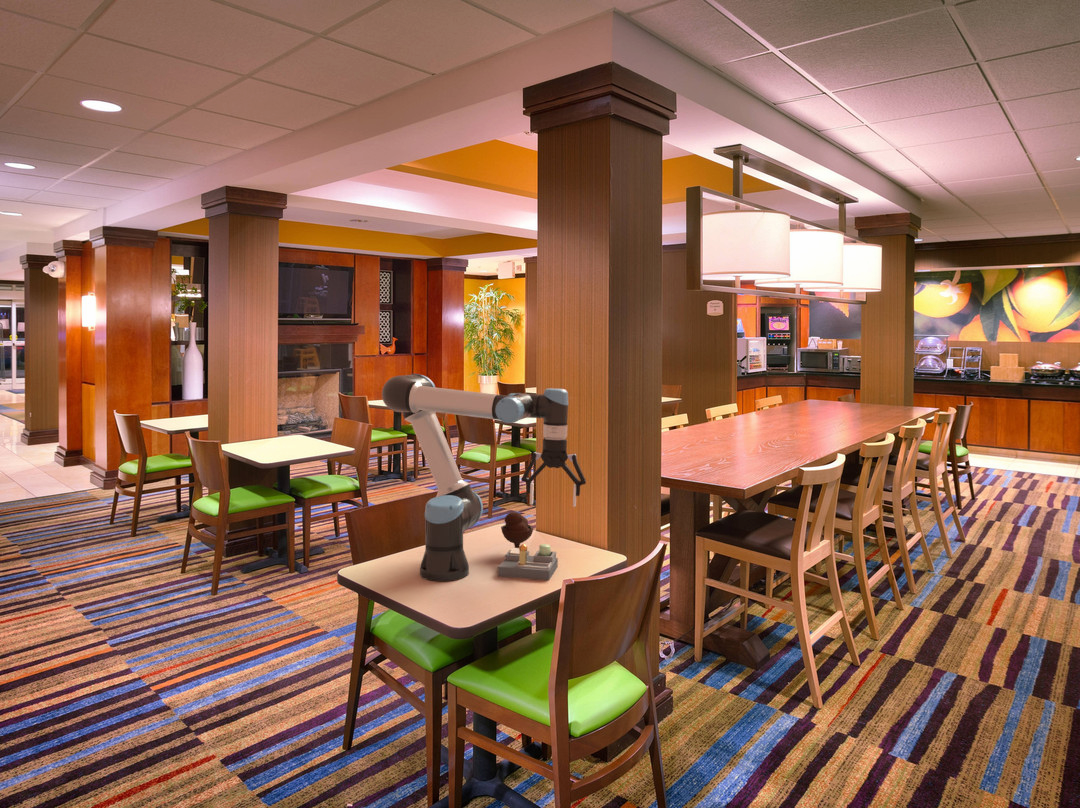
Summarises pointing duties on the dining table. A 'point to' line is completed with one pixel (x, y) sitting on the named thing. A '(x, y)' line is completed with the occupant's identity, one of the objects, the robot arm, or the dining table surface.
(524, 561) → the brass lever
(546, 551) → the green button
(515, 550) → the rocker
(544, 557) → the console
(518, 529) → the ice cream bowl
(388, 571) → the dining table surface
